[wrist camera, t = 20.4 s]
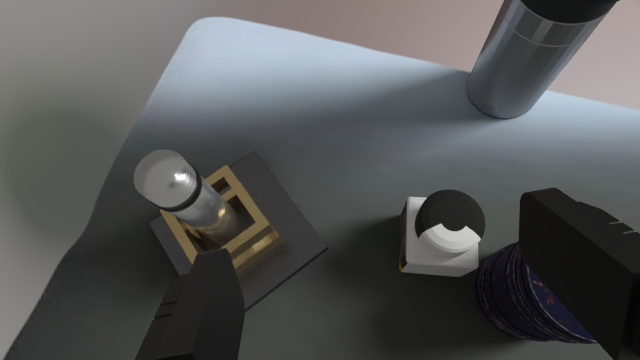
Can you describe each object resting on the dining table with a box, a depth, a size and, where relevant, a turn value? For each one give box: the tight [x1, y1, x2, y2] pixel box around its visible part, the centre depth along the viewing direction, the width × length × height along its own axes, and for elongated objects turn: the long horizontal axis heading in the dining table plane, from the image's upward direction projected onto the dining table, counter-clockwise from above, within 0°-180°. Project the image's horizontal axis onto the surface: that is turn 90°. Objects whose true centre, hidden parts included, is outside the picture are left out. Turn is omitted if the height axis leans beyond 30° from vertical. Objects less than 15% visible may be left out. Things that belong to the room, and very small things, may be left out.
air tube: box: [134, 149, 250, 247], centre depth 38 cm, size 4×4×20 cm
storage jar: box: [474, 241, 598, 344], centre depth 37 cm, size 10×10×15 cm
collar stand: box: [149, 151, 328, 312], centre depth 45 cm, size 16×16×10 cm
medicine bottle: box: [399, 190, 485, 277], centre depth 41 cm, size 7×7×12 cm
